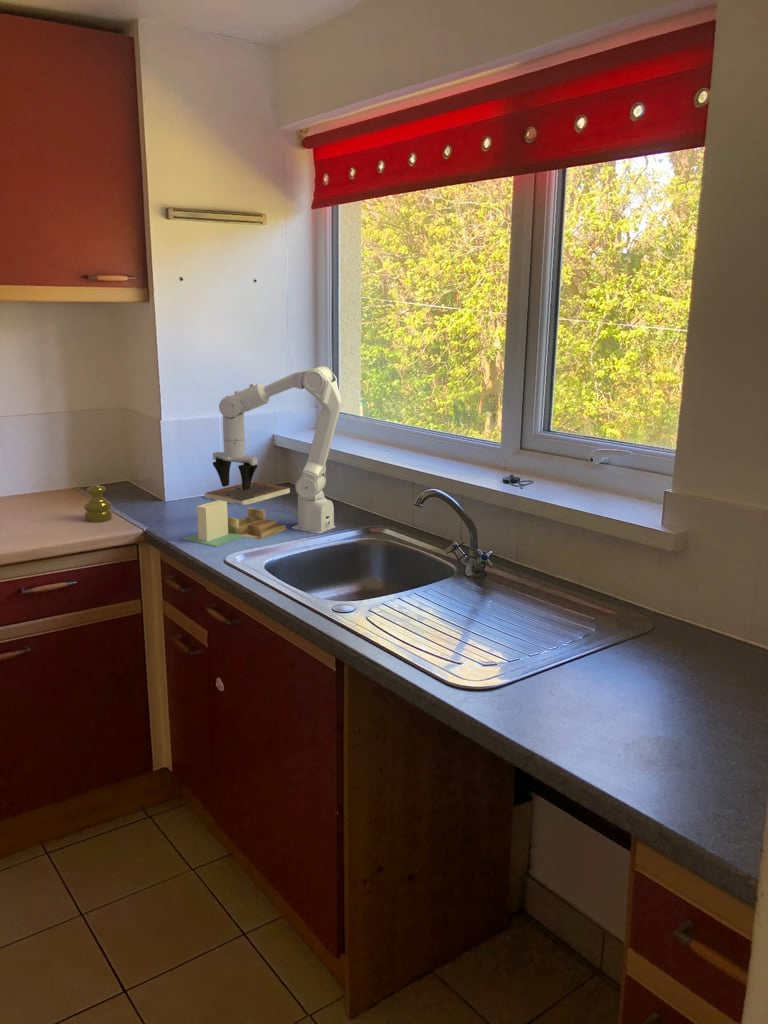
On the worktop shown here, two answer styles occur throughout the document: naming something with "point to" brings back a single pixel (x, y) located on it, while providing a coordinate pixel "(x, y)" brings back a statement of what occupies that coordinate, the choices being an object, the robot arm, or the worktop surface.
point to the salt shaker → (97, 505)
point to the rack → (252, 517)
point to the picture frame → (247, 493)
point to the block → (212, 520)
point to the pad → (216, 541)
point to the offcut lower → (259, 532)
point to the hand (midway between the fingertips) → (235, 487)
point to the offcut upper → (262, 525)
